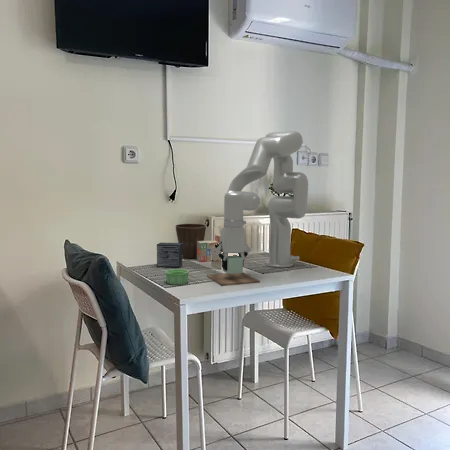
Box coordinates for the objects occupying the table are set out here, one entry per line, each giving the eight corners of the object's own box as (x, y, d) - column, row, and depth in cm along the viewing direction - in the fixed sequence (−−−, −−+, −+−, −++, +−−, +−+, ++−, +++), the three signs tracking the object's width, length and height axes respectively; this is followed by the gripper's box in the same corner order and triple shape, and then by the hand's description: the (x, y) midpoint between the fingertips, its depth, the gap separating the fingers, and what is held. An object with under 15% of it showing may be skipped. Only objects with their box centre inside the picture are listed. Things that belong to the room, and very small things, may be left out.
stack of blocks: (200, 262, 213) (200, 236, 211) (196, 260, 219) (196, 234, 217) (242, 260, 220) (243, 234, 218) (238, 257, 226) (238, 233, 224)
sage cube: (236, 269, 184) (236, 255, 183) (242, 272, 178) (243, 257, 177) (222, 270, 181) (223, 256, 181) (228, 274, 176) (228, 258, 175)
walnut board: (242, 273, 191) (242, 272, 191) (259, 282, 176) (259, 280, 176) (206, 276, 185) (207, 275, 185) (221, 285, 170) (221, 284, 170)
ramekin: (183, 278, 181) (183, 268, 180) (192, 284, 173) (192, 272, 172) (162, 281, 177) (162, 270, 176) (170, 286, 169) (170, 274, 168)
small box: (182, 265, 206) (182, 242, 205) (180, 268, 200) (180, 244, 198) (160, 264, 207) (159, 241, 206) (156, 267, 201) (156, 244, 199)
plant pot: (205, 260, 217) (205, 227, 215) (174, 260, 216) (174, 227, 214) (206, 254, 231) (206, 223, 229) (176, 254, 231) (176, 223, 229)
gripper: (249, 222, 184) (248, 266, 186) (209, 223, 178) (208, 268, 180) (257, 224, 177) (256, 269, 179) (216, 225, 171) (215, 272, 173)
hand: (232, 268), depth 180 cm, fingers closed on sage cube, 6 cm apart
